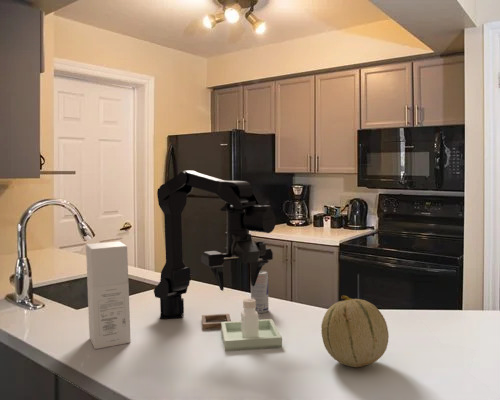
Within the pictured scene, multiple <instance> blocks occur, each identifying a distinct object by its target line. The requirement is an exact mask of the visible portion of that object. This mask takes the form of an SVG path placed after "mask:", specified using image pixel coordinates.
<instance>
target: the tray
mask: <svg viewBox="0 0 500 400" xmlns="http://www.w3.org/2000/svg"><path fill="white" fill-rule="evenodd" d="M258 320H259V336H258V337H256V338H244V337H243V335H242V330H241V320H233V321H232V320H231V321H230V322H227V321H220V322H221V330H220V331H221V337H222V343H223V348H224V351H225V352H233V351H234V352H235V351H247V350H262V349H278V348H279V349H280V348H283V336H282V335H281V333H280V331H279V330H278V327H277V325H276V324H275V322H274V320H273V319H272V318H269V319H267V318H266V319H264V318H263V319H258Z"/></svg>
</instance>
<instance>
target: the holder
mask: <svg viewBox="0 0 500 400" xmlns="http://www.w3.org/2000/svg"><path fill="white" fill-rule="evenodd" d="M211 321H212V322H211ZM222 321H225V322H230V321H232V319H231V316H230V313H217V314H216V313H215V314H214V313H213V314H203V315H201V325H202V326H201V327H202V328H201V329H202V331H203V330H218V329H221V322H222Z"/></svg>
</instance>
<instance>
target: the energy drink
mask: <svg viewBox="0 0 500 400" xmlns="http://www.w3.org/2000/svg"><path fill="white" fill-rule="evenodd" d="M250 299H255V300H256V308H255V309H256V311H257V313H258V314H263V313H267V312H268V311H269V274H268V271H266V270H260V272H259V275H258V278H257V280H256V283H255V286H252V285H251V284H250Z"/></svg>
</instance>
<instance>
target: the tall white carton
mask: <svg viewBox="0 0 500 400" xmlns="http://www.w3.org/2000/svg"><path fill="white" fill-rule="evenodd" d="M85 253H86V278H87V279H86V282H87V285H86V286H87V309H88V310H87V311H88V330H89V331H88V332H89V334H88V336H89V339H90V342H91V343H92V346H93V348H94V349H95V350H97V349H98V350H99V349H104V348H109V347H110V348H111V347H115V346H120V345H124V344H130V343H131V317H130V313H131V311H130V288H129V287H130V286H129V285H130V284H129V265H128V264H129V263H128V261H129V260H128V245H126V244H124V243H123V242H121V241H110V242H109V241H108V242H98V243H96V242H95V243H87V244H85Z"/></svg>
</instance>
